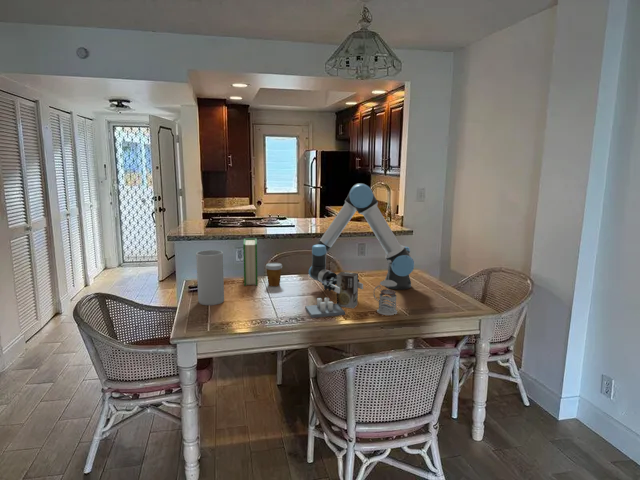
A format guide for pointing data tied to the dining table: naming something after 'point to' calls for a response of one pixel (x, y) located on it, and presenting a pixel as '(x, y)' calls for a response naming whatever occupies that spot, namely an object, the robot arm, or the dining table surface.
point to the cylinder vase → (210, 277)
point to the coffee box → (347, 289)
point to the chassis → (324, 309)
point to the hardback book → (250, 261)
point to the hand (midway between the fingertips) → (351, 288)
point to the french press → (387, 297)
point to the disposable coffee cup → (274, 273)
